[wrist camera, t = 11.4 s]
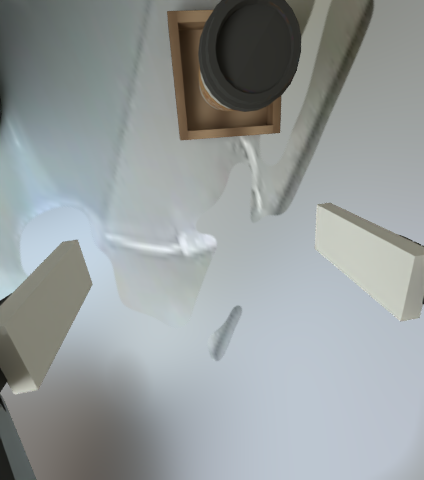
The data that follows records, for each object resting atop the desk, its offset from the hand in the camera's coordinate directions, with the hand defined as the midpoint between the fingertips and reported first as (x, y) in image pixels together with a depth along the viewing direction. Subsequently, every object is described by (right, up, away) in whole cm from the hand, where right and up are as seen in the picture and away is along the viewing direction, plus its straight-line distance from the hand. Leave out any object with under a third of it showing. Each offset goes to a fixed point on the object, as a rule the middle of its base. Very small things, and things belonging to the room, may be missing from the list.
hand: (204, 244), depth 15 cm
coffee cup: (+2, +20, +19) cm, 28 cm away
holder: (+2, +21, +20) cm, 29 cm away
